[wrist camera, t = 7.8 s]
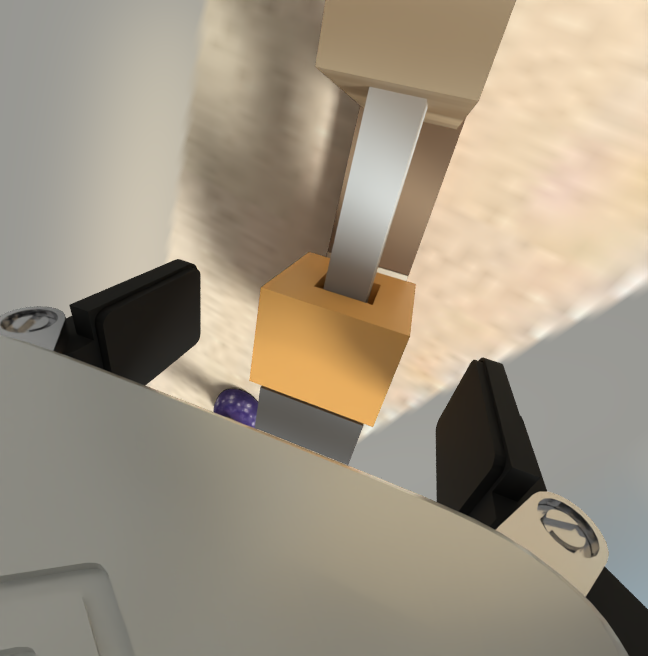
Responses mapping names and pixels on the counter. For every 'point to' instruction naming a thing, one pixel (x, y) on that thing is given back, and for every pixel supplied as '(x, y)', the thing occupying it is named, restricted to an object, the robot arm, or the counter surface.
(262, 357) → the sleeve
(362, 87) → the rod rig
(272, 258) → the counter surface
